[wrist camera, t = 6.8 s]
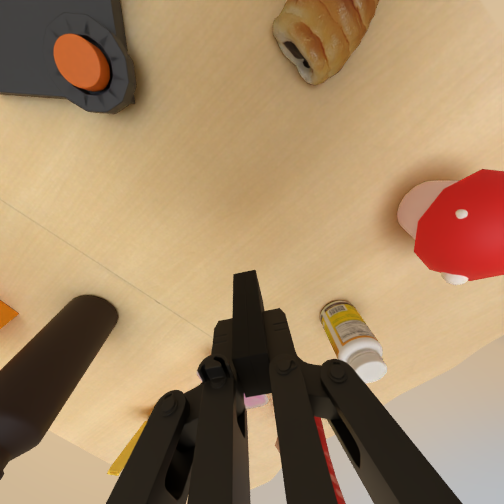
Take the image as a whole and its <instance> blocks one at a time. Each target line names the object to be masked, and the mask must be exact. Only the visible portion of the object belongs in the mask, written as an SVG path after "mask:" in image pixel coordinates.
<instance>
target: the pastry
mask: <svg viewBox="0 0 504 504" xmlns="http://www.w3.org/2000/svg"><path fill="white" fill-rule="evenodd" d="M378 2H379V0H287V1H286V4H285V6H284V8H283V10H282V12H281V13H280V15H279V16H278V17H277V18H276V19H275V20H274V22H273V35H274V37H275V38H276V40H277V42H278V44H279V47H280V49H281V51H282V52H283V53H284V55H285V56H286V57H287V58H288V59H289V60H290V61H291V62H292V63H293V64H295V65H296V66H297V68H298V72H299V74H300V75H301V77H302V78H303V79H304V80H305V81H306V82H307V83H309V84H312V85H317V84H321V83H324V81H325V80H326V79H328V78H329V77H331V76H333V75H335V74H336V73H338V72H339V70H340V69H341V68H342V67H343V65H344V64H345V62H346V61H347V59H348V58H349V57H350V55H351V54H352V52H353V51H354V50H355V49H356V48H357V47H358V46H359V44H360V42H361V39H362V38H363V36H364V35H365V33H366V31H367V29H368V27H369V24H370V22H371V20H372V18H373V17H374V15H375V10H376V8H377V5H378Z"/></svg>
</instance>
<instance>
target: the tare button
mask: <svg viewBox="0 0 504 504" xmlns="http://www.w3.org/2000/svg"><path fill="white" fill-rule="evenodd" d="M54 59H55V63H56V65H57V68H58V69H59V71H60V73H61V74H62V75H63V77H64V78H65V79H66V80H67V81H68V82H70V83H71V84H72V85H74V86H76V87H79V88H82V89H85V90H89V91H93V92H97V91H101V90H103V89H104V88H105V87H106V86H107V85H108V83H109V80H110V68H109V64H108V61H107V59H106V57H105V56H104V54H103V53H102V52H101V50H100V49H99V48H98V47H96V46H95V45H93V44H92V43H90V42H89V41H87V40H86V39H84V38H82V37H81V36H79V35H76V34H64V35H62V36H60V37H59V38H58V39H57V40H56V42H55V45H54Z"/></svg>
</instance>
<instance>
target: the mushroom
mask: <svg viewBox="0 0 504 504" xmlns="http://www.w3.org/2000/svg"><path fill="white" fill-rule="evenodd" d="M397 218H398V222H399V224H400V225H401V226H402V228H403V229H404V230H405V231H406V232H407V233H409V234H410V235H411V236H412V237H413V238H414V239H415V247H414V252H415V253H416V255H417V256H418V257H419V258H420V259H421V260H422V261H423V263H424V264H425V265H426V266H427V267H428V268H429V269H430V270H433V271H437V272H440V273H441V275H442V278H443V279H444V280H445V281H446V282H447V283H450V284H453V285H459V284H464V283H465V282H466V281H467V280H468V281H473V280H478V279H483V278H488V277H494V276H499V275H504V171H495V170H486V169H482V170H480V171H478V172H476V173H474V174H472V175H470V176H468V177H466V178H464V179H462V180H460V181H444V180H435V181H426V182H423V183H421V184H419V185H417V186H415V187H413V188H412V189H411V190H410V191H409V192H408V193H407V194H406V195H405V196H404V198H403V199H402V201H401V203H400V204H399V207H398V212H397Z"/></svg>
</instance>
